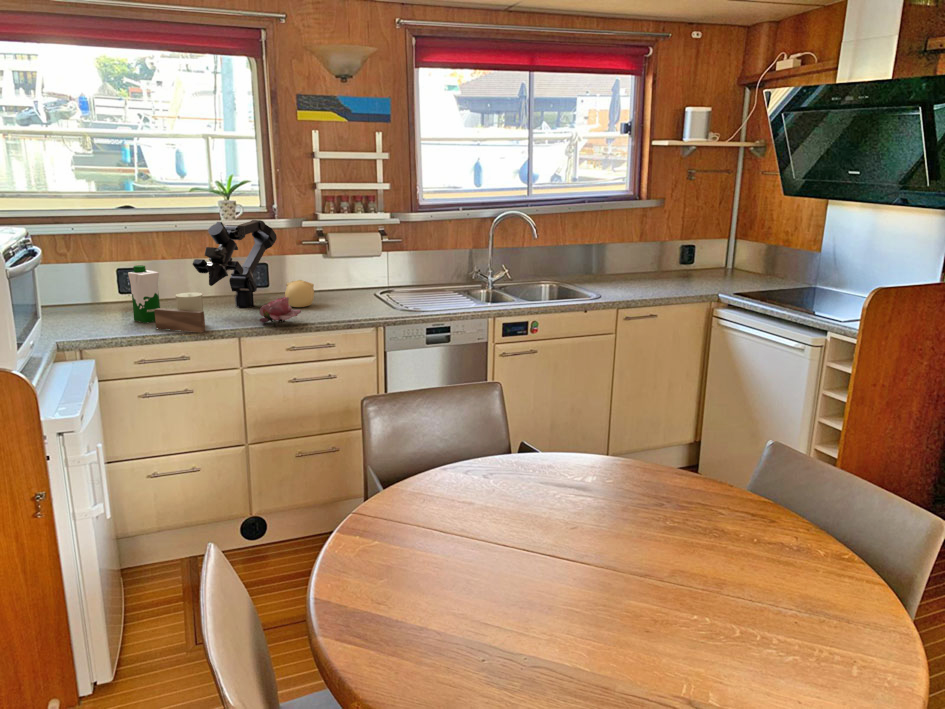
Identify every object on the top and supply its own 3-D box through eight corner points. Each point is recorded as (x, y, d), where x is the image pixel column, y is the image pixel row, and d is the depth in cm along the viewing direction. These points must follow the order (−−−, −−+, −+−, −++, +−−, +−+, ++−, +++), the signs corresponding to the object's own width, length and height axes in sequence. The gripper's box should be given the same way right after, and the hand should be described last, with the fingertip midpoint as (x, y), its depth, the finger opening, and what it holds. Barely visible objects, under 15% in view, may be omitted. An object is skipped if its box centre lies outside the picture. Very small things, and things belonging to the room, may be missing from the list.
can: (180, 330, 270) (177, 296, 267) (175, 324, 278) (172, 292, 275) (207, 327, 275) (205, 294, 272) (201, 322, 283) (199, 290, 280)
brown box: (160, 327, 274) (159, 308, 272) (205, 330, 270) (204, 311, 268) (156, 328, 271) (154, 309, 270) (201, 332, 267) (199, 312, 265)
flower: (306, 312, 288) (296, 288, 284) (298, 326, 274) (287, 301, 271) (269, 322, 290) (259, 298, 286) (259, 336, 276) (248, 311, 272)
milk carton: (150, 316, 290) (145, 264, 285) (166, 319, 286) (161, 266, 280) (130, 320, 283) (124, 267, 278) (145, 324, 278) (140, 269, 273)
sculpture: (316, 303, 319) (315, 277, 316) (311, 309, 308) (310, 282, 305) (288, 303, 319) (287, 277, 316) (282, 309, 307) (281, 282, 304)
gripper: (193, 237, 289) (177, 270, 282) (237, 239, 285) (223, 273, 277) (206, 256, 299) (192, 288, 291) (249, 258, 294) (236, 291, 287)
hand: (210, 285), depth 286 cm, fingers closed
